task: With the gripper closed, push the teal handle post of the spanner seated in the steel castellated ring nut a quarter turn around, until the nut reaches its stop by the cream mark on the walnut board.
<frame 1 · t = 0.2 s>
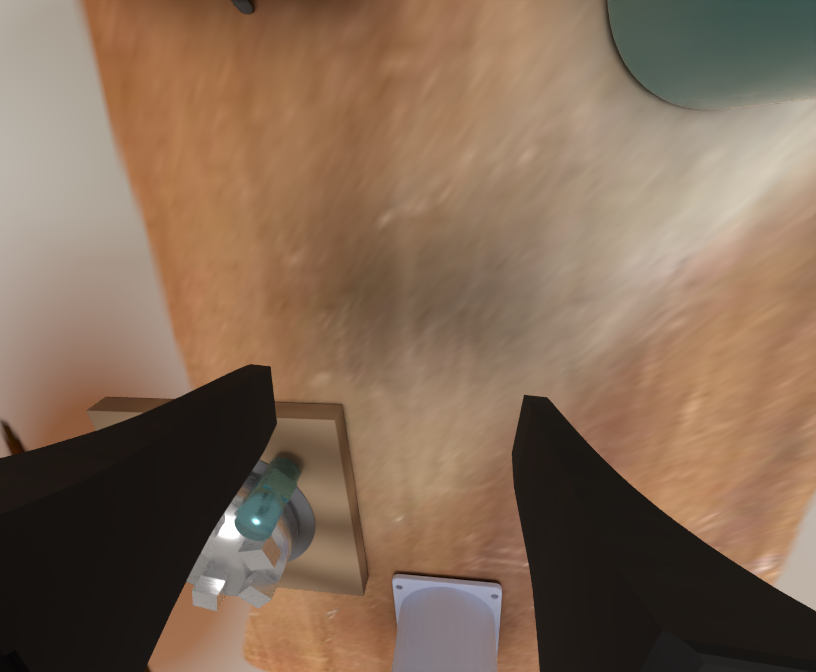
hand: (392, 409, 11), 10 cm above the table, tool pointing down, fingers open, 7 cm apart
nut board: (247, 493, 29), on the table
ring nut: (227, 534, 24), point 4 cm above the table, hinge at 0.0°
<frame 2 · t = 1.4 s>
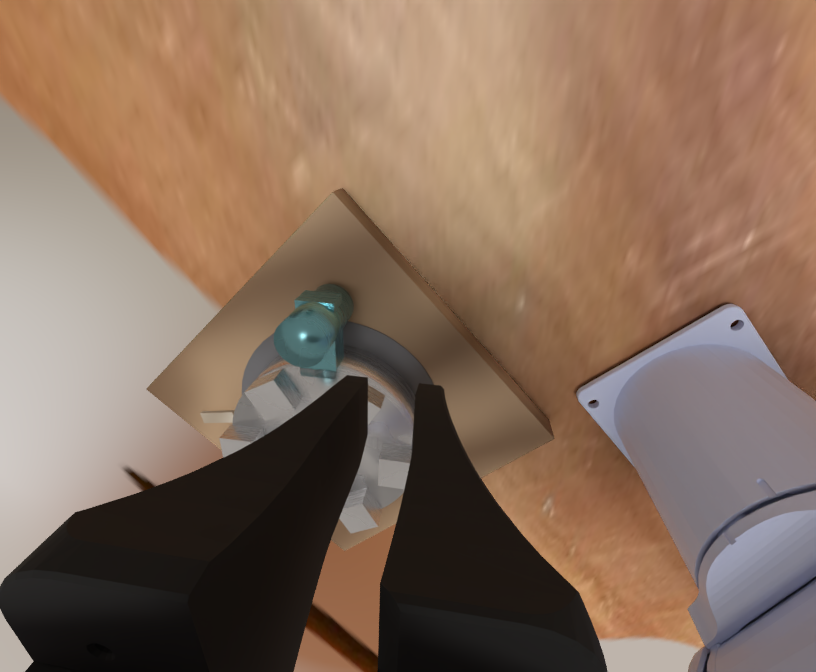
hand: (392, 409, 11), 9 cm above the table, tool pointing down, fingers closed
nut board: (347, 396, 23), on the table
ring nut: (323, 419, 19), point 4 cm above the table, hinge at 0.0°
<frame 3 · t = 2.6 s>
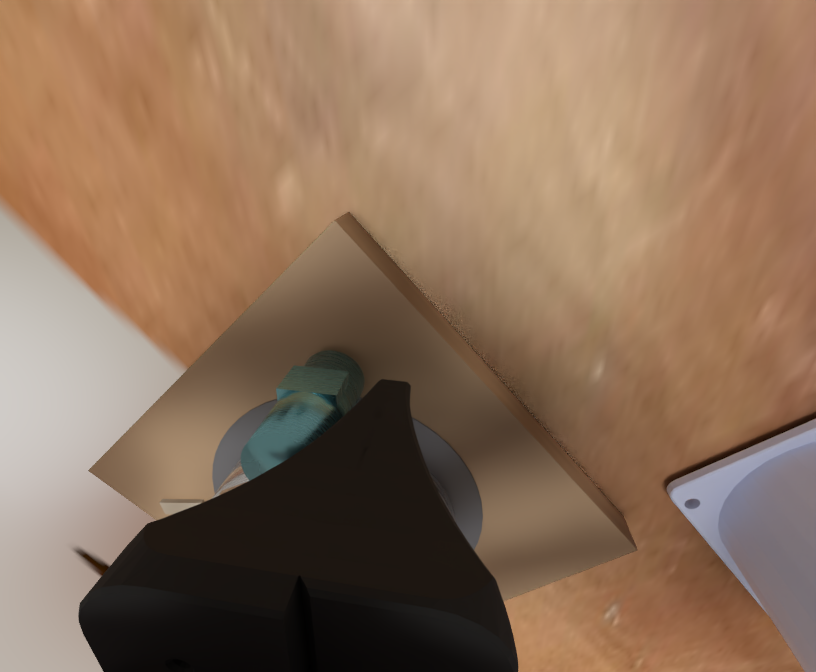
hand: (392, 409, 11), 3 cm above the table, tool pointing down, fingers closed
nut board: (353, 479, 17), on the table
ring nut: (321, 538, 13), point 4 cm above the table, hinge at 0.1°, touching gripper
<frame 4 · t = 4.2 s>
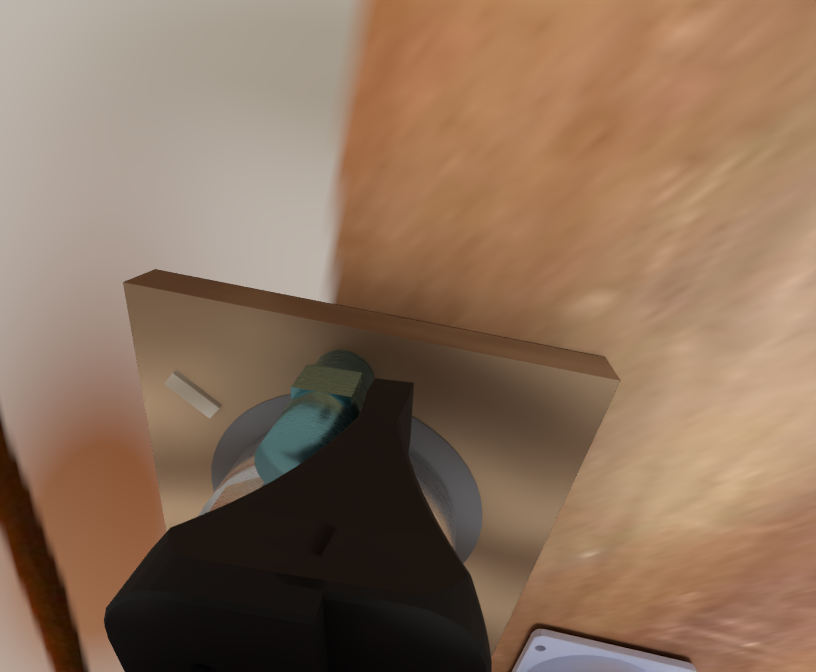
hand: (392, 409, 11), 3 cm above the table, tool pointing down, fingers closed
nut board: (352, 478, 17), on the table
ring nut: (323, 537, 13), point 4 cm above the table, hinge at 48.1°, touching gripper
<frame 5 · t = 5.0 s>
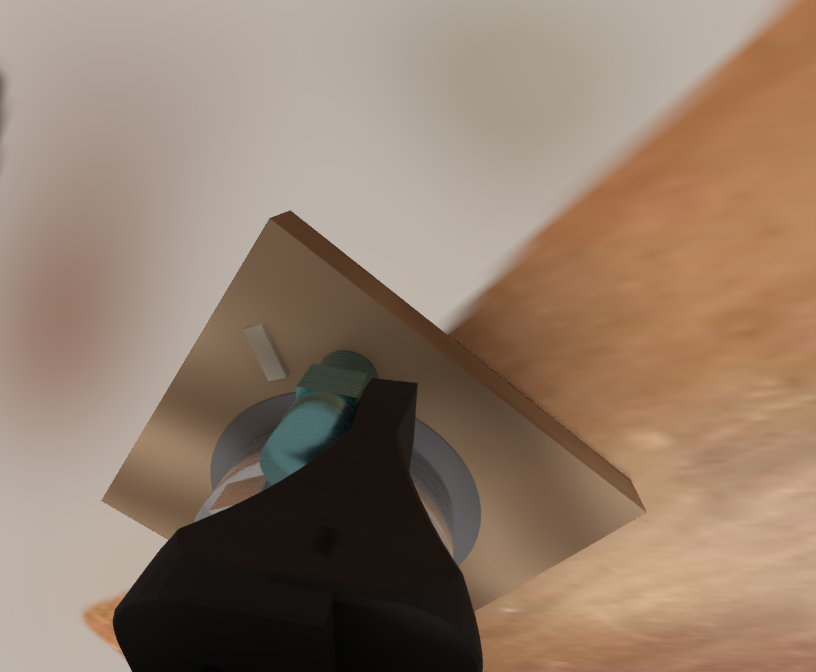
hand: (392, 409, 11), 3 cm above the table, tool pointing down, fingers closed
nut board: (351, 478, 17), on the table
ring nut: (323, 536, 13), point 4 cm above the table, hinge at 76.2°, touching gripper
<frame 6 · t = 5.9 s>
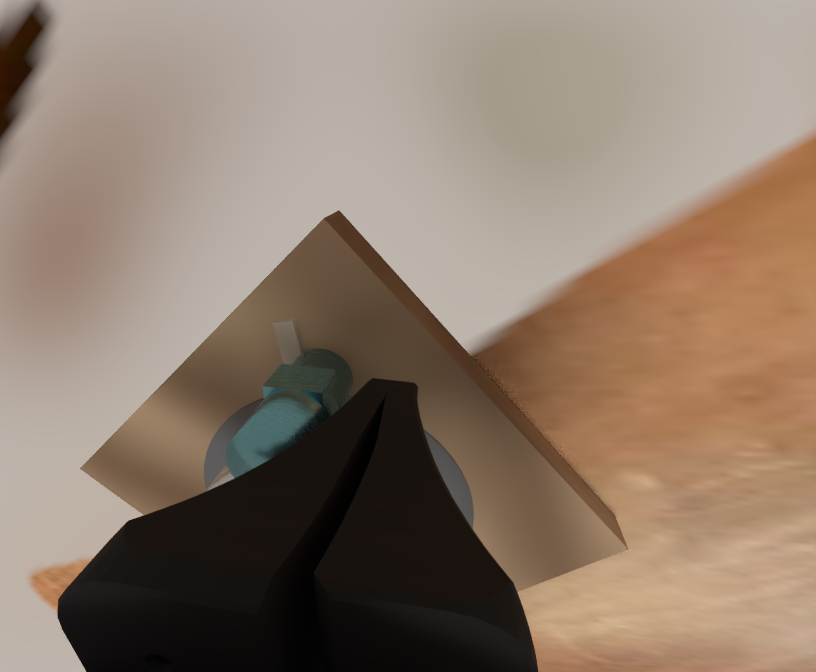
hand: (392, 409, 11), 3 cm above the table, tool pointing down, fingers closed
nut board: (345, 478, 17), on the table
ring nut: (311, 536, 13), point 4 cm above the table, hinge at 90.4°
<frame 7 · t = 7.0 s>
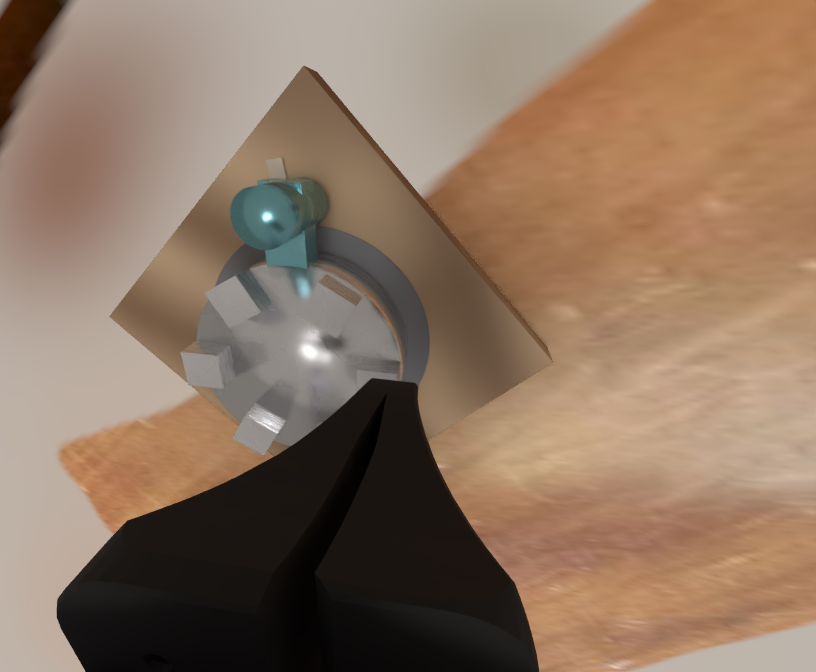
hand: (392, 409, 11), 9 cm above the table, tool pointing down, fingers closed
nut board: (328, 325, 21), on the table
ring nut: (296, 332, 17), point 4 cm above the table, hinge at 90.5°
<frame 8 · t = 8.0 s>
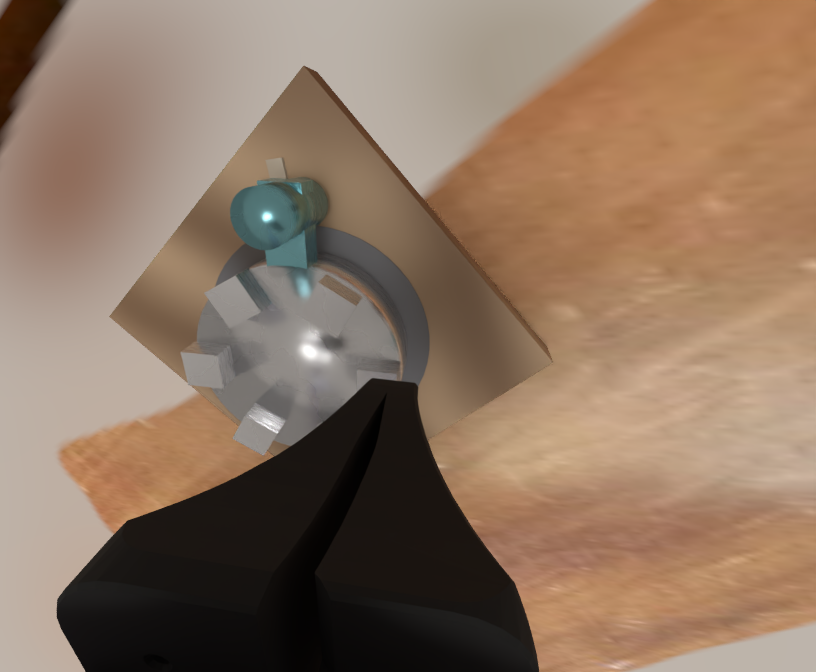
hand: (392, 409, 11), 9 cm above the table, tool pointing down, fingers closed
nut board: (328, 325, 21), on the table
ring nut: (296, 332, 17), point 4 cm above the table, hinge at 90.5°
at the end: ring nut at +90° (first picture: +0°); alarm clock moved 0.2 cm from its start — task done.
